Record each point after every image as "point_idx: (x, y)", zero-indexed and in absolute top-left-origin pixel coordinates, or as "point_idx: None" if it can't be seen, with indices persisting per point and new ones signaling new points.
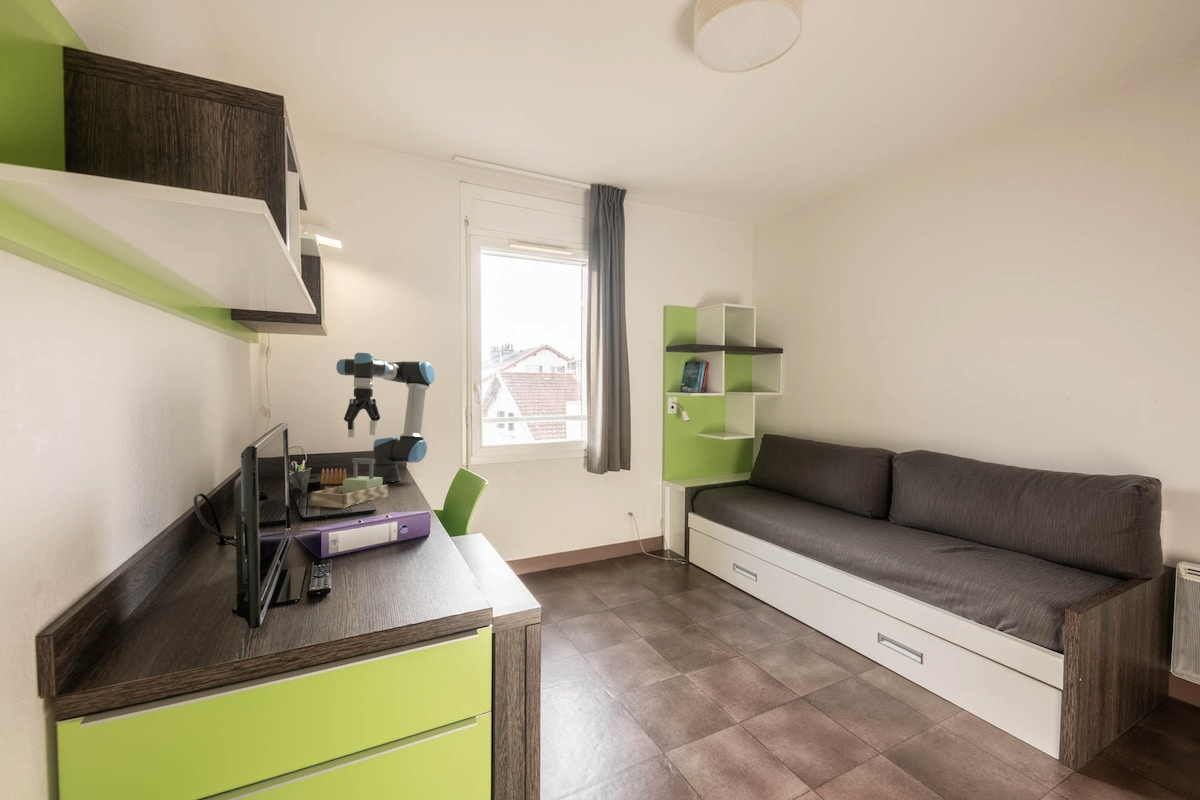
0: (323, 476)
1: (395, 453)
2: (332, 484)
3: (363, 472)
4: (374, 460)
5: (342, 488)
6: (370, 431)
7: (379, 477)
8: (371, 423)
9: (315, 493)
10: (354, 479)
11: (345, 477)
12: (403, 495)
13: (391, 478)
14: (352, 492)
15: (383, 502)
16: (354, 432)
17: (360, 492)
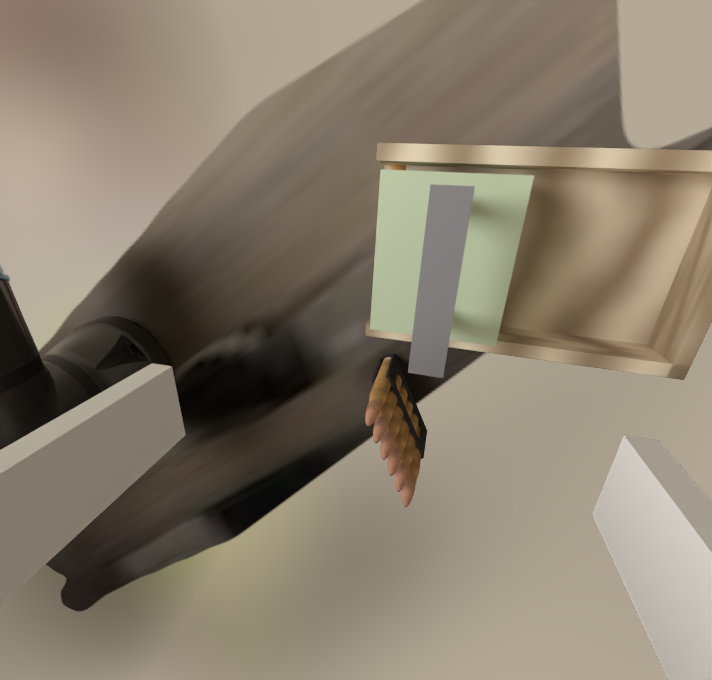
0: (414, 472)
1: (5, 357)
2: (407, 418)
3: None
4: (438, 185)
5: None
6: (148, 455)
7: (384, 191)
8: (8, 557)
9: (692, 353)
10: (494, 283)
11: (380, 391)
12: (338, 89)
13: (125, 333)
14: (682, 168)
15: (543, 57)
16: (691, 503)
17: (628, 149)
